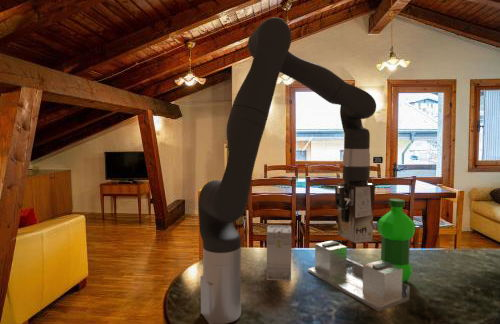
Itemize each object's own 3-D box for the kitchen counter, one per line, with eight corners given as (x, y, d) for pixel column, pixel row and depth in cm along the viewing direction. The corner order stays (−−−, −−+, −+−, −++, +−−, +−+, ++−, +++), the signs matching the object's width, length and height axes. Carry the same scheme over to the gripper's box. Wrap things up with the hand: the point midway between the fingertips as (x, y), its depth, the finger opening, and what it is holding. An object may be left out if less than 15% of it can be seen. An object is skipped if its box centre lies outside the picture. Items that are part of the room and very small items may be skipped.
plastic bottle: (414, 278, 101) (418, 199, 100) (409, 291, 93) (412, 205, 91) (380, 270, 107) (383, 195, 105) (372, 282, 98) (375, 201, 96)
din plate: (378, 311, 82) (379, 274, 81) (307, 271, 107) (308, 242, 106) (409, 300, 88) (410, 265, 87) (335, 264, 112) (335, 237, 112)
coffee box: (373, 241, 93) (375, 185, 91) (354, 243, 91) (355, 186, 90) (354, 232, 101) (355, 181, 100) (336, 234, 100) (337, 182, 98)
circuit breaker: (290, 263, 114) (290, 220, 113) (291, 280, 100) (291, 232, 98) (268, 262, 114) (268, 220, 113) (266, 279, 100) (266, 232, 99)
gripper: (363, 162, 101) (362, 214, 102) (328, 164, 94) (327, 220, 96) (383, 164, 95) (382, 220, 96) (347, 166, 88) (346, 226, 89)
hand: (354, 220), depth 96 cm, fingers closed on coffee box, 7 cm apart
